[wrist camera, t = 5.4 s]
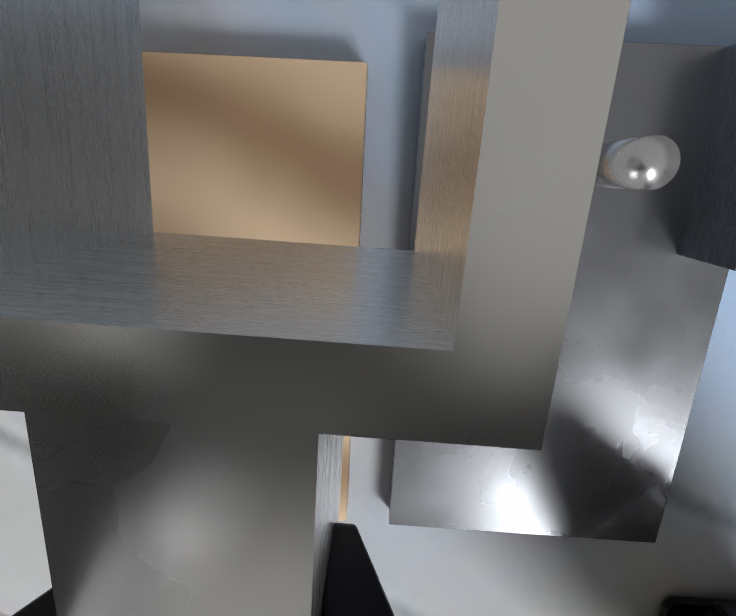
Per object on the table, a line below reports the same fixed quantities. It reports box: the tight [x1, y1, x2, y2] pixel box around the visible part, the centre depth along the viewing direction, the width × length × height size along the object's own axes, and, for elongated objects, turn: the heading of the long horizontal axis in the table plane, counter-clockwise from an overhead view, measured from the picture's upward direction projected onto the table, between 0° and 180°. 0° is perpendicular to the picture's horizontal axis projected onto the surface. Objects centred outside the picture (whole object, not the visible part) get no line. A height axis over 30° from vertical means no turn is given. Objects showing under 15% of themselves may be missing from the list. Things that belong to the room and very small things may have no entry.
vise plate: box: [389, 33, 736, 543], centre depth 17 cm, size 20×12×6 cm, turn 177°
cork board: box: [142, 51, 368, 521], centre depth 19 cm, size 19×12×1 cm, turn 177°
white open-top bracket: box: [0, 0, 631, 616], centre depth 7 cm, size 18×6×4 cm, turn 176°
